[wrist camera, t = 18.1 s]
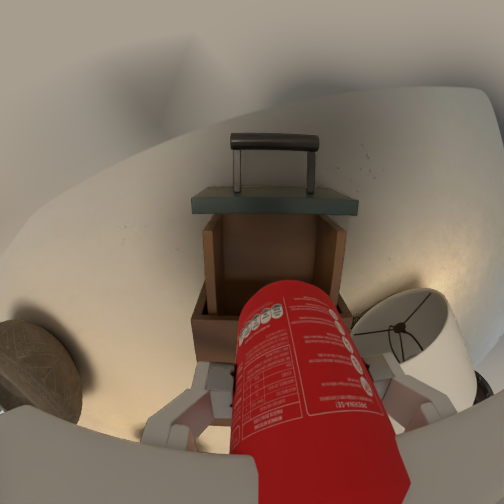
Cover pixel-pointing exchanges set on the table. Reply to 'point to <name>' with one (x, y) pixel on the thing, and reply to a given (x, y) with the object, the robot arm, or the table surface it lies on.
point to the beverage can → (310, 405)
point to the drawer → (270, 230)
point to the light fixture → (422, 345)
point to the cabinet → (228, 336)
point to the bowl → (37, 372)
